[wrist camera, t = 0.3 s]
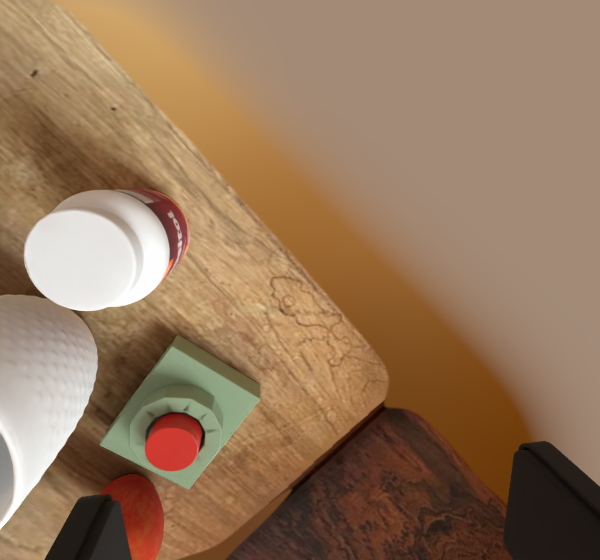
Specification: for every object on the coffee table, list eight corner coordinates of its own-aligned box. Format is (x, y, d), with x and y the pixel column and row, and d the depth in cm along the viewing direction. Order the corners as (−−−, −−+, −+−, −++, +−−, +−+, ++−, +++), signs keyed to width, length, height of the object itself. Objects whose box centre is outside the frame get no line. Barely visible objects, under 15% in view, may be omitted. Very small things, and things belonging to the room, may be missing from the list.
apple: (188, 478, 33) (169, 562, 25) (149, 527, 33) (120, 622, 26) (123, 445, 31) (83, 524, 24) (84, 497, 32) (34, 589, 25)
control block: (177, 333, 29) (165, 356, 25) (260, 384, 31) (261, 413, 27) (109, 427, 31) (87, 462, 27) (192, 470, 32) (184, 508, 29)
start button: (169, 403, 27) (163, 418, 25) (211, 427, 28) (208, 443, 26) (141, 440, 27) (134, 457, 26) (184, 462, 28) (179, 480, 26)
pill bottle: (185, 280, 28) (142, 339, 18) (98, 264, 27) (-2, 316, 17) (198, 198, 27) (162, 209, 16) (108, 178, 26) (5, 175, 15)
